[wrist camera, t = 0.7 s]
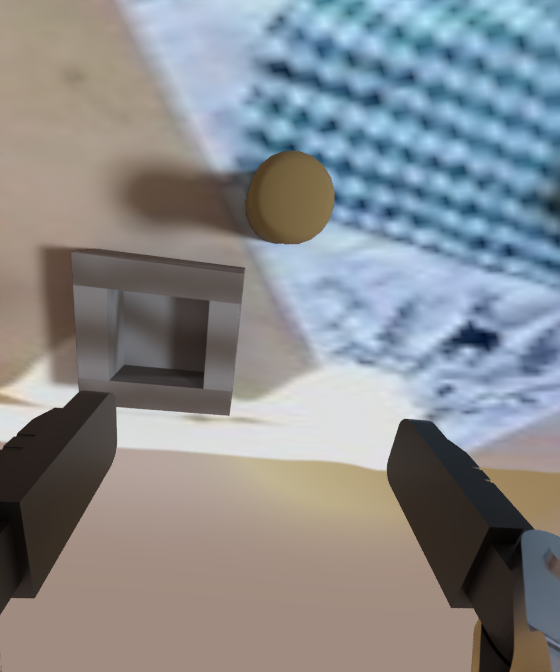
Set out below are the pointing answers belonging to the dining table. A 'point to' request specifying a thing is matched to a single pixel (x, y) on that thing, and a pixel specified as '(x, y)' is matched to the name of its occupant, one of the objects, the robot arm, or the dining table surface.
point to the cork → (290, 198)
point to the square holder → (157, 330)
